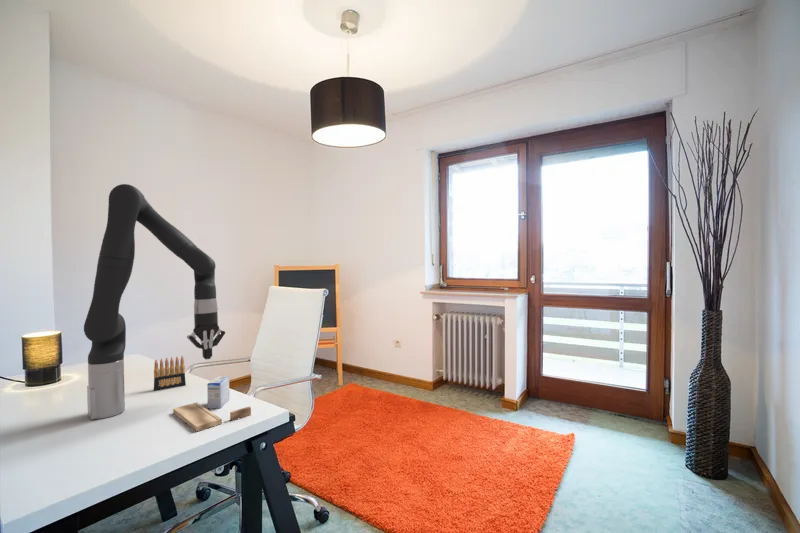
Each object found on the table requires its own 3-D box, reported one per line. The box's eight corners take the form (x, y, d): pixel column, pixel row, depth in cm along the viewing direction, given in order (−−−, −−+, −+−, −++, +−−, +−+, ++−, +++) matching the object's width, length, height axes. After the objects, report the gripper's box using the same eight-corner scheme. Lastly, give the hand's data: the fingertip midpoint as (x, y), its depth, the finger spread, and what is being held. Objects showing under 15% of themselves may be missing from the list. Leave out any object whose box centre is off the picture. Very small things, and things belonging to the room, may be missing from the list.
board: (196, 431, 107) (196, 426, 107) (173, 413, 121) (173, 408, 121) (221, 423, 112) (221, 418, 112) (196, 406, 127) (196, 402, 127)
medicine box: (216, 400, 132) (216, 376, 132) (229, 400, 133) (229, 375, 133) (207, 409, 124) (206, 383, 124) (221, 408, 125) (220, 382, 125)
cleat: (231, 420, 114) (231, 413, 114) (230, 419, 115) (230, 412, 115) (250, 414, 119) (250, 407, 119) (249, 413, 120) (249, 406, 120)
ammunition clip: (154, 391, 144) (153, 360, 144) (153, 390, 145) (153, 359, 145) (185, 385, 150) (185, 355, 150) (185, 384, 152) (184, 354, 152)
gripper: (220, 308, 143) (222, 353, 143) (182, 312, 133) (183, 361, 133) (228, 309, 137) (230, 356, 138) (189, 314, 128) (191, 364, 128)
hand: (207, 358), depth 135 cm, fingers closed
